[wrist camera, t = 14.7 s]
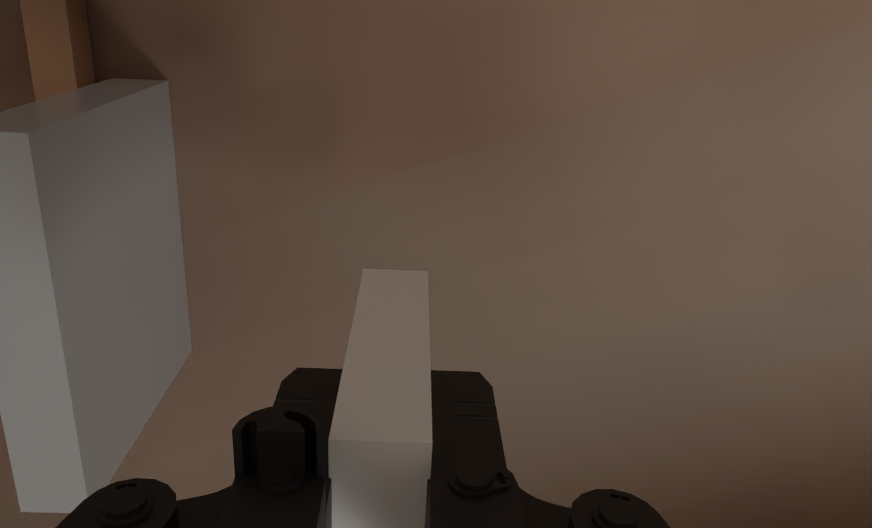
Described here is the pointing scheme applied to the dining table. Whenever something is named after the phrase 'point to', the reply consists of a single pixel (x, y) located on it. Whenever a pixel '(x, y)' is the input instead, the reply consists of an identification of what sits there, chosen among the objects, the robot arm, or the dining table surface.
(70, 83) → the stop rail
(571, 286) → the dining table surface
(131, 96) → the tile
